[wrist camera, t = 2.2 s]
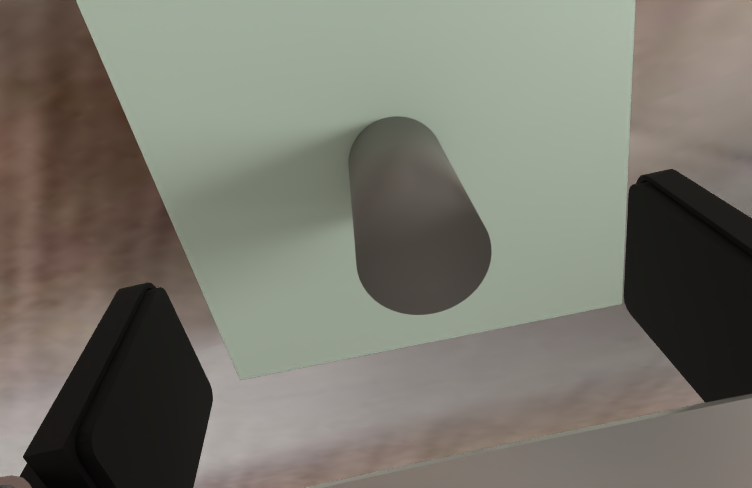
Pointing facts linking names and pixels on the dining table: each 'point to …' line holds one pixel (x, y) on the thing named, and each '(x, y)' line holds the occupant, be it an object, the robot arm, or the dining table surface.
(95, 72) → the dining table surface
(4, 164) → the dining table surface
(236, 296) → the lid
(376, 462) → the dining table surface
